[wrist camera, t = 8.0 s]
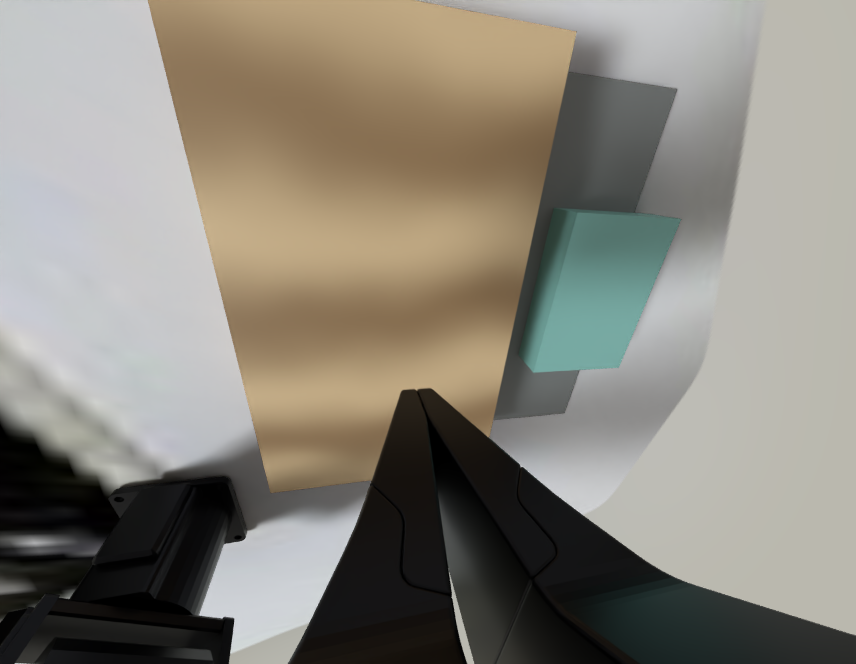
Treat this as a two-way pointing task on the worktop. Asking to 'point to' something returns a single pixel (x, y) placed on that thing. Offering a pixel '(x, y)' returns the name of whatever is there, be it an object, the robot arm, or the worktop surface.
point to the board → (362, 205)
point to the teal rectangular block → (592, 287)
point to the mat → (583, 203)
